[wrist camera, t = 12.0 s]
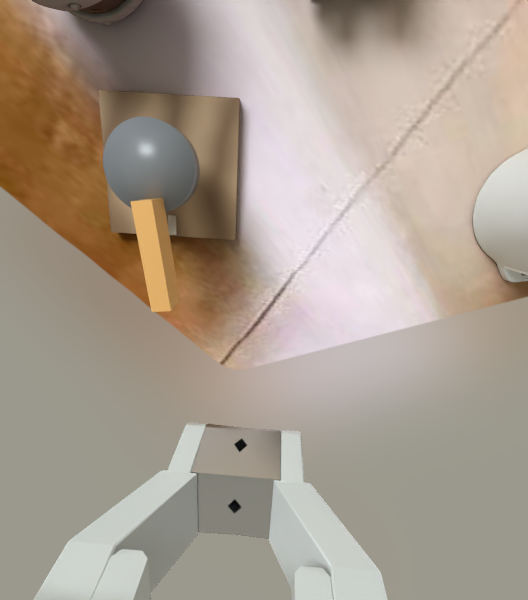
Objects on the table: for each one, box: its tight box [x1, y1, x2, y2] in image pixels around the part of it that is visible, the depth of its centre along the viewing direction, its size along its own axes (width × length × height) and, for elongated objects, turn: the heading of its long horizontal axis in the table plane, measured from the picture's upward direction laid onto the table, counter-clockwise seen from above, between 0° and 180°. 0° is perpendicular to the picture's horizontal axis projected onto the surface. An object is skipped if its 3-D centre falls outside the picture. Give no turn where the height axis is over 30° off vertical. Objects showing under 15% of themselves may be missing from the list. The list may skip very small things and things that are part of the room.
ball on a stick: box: [103, 117, 200, 312], centre depth 35 cm, size 18×9×6 cm, turn 4°
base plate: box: [98, 90, 240, 240], centre depth 42 cm, size 16×16×2 cm
